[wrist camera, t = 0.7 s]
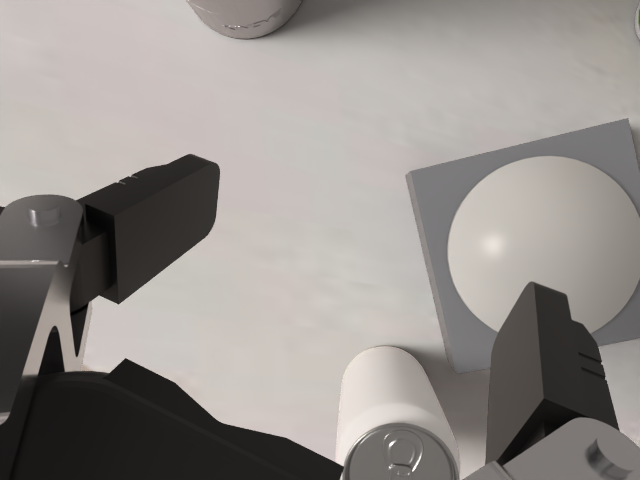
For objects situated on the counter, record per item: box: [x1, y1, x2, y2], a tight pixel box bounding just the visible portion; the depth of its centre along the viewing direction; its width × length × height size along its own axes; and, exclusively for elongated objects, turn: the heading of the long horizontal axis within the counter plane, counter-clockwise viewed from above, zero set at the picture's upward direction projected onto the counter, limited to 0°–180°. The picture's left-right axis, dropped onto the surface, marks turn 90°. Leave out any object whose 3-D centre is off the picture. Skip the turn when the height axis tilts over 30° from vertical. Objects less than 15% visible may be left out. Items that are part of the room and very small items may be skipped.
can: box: [336, 346, 460, 480], centre depth 27 cm, size 6×6×12 cm
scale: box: [406, 118, 640, 374], centre depth 30 cm, size 14×14×4 cm
